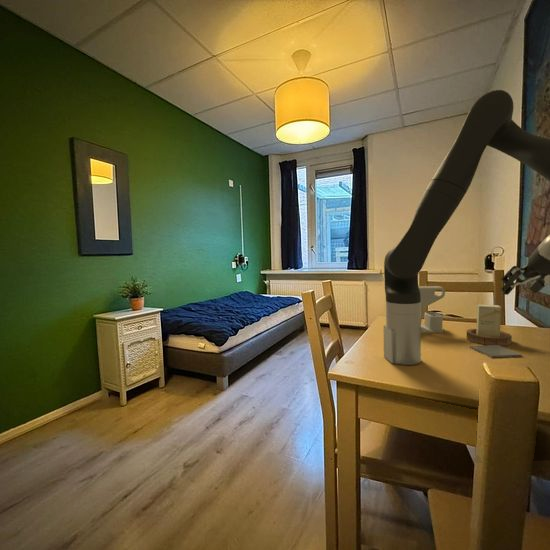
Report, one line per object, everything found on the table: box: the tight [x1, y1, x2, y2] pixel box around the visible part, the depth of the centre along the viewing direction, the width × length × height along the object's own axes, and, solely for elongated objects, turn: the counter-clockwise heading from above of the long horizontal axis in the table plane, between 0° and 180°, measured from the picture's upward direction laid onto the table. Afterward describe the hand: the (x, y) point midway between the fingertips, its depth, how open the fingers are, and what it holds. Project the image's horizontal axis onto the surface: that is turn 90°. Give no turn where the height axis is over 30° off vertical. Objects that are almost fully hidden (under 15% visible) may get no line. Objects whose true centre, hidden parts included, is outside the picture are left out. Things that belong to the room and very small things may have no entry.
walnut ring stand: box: [466, 328, 513, 347], centre depth 100 cm, size 12×12×2 cm
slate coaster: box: [469, 344, 523, 358], centre depth 88 cm, size 9×9×1 cm
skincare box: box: [476, 304, 502, 337], centre depth 99 cm, size 6×4×12 cm
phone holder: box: [418, 285, 446, 334], centre depth 116 cm, size 17×10×18 cm, turn 81°
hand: (518, 291), depth 85 cm, fingers open, 8 cm apart
